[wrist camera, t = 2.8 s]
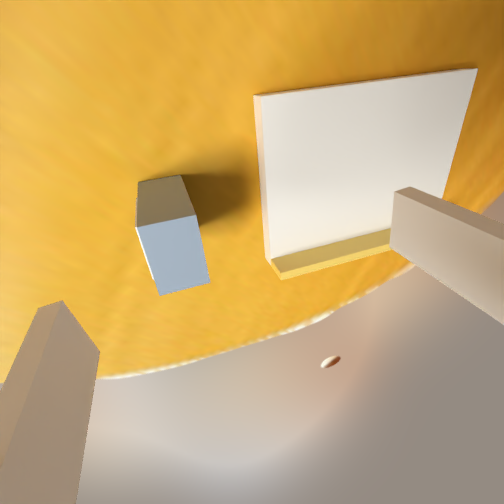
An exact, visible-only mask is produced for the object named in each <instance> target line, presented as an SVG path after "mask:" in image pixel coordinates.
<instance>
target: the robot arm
mask: <svg viewBox="0 0 504 504" xmlns="http://www.w3.org/2000/svg"><path fill="white" fill-rule="evenodd" d="M389 247H390V248H391V249H393V250H394V251H396V252H397V253H399V254H400V255H402V256H403V257H405V258H406V259H408V260H409V261H411V262H412V263H413V264H415V265H416V266H418V267H419V268H421V269H422V270H424V271H425V272H427V273H428V274H430V275H431V276H433V277H434V278H436V279H437V280H438V281H440V282H442V283H443V284H445V285H446V286H448V287H449V288H450V289H452V290H453V291H455V292H456V293H458V294H459V295H461V296H462V297H463V298H465V299H466V300H468V301H469V302H471V303H472V304H474V305H475V306H477V307H478V308H480V309H481V310H483V311H484V312H485V313H487V314H488V315H490V316H491V317H493V318H494V319H496V320H497V321H499V322H500V323H502V324H503V325H504V224H503V223H500V222H498V221H495V220H493V219H490V218H488V217H485V216H483V215H480V214H478V213H475V212H473V211H470V210H468V209H465V208H463V207H460V206H458V205H455V204H453V203H450V202H448V201H445V200H443V199H440V198H438V197H435V196H433V195H430V194H428V193H425V192H423V191H420V190H418V189H415V188H413V187H410V186H409V187H406V188H403V189H400V190H397V191H394V200H393V211H392V222H391V233H390V244H389ZM99 354H100V351H99V350H98V348H97V347H96V346H95V344H94V343H93V342H92V340H91V339H90V338H89V336H88V335H87V333H86V332H85V331H84V329H83V328H82V327H81V325H80V324H79V323H78V321H77V320H76V318H75V317H74V316H73V314H72V313H71V312H70V310H69V309H68V308H67V306H66V305H65V303H64V302H63V301H59V302H56V303H53V304H50V305H47V306H43V307H40V308H38V310H37V312H36V315H35V317H34V319H33V321H32V323H31V326H30V328H29V330H28V332H27V334H26V336H25V339H24V341H23V343H22V345H21V347H20V350H19V352H18V354H17V356H16V358H15V360H14V363H13V365H12V367H11V369H10V371H9V374H8V376H7V378H6V380H5V382H4V384H3V387H2V389H1V391H0V504H76V499H77V493H78V486H79V480H80V474H81V468H82V461H83V455H84V448H85V443H86V436H87V430H88V423H89V417H90V411H91V405H92V398H93V392H94V386H95V380H96V373H97V367H98V361H99Z"/></svg>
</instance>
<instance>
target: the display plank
mask: <svg viewBox="0 0 504 504" xmlns="http://www.w3.org/2000/svg"><path fill="white" fill-rule="evenodd" d="M477 71H478V68H473V69H455V70H447V71H439V72H431V73H424V74H416V75H408V76H400V77H392V78H384V79H377V80H369V81H361V82H353V83H345V84H337V85H329V86H322V87H314V88H306V89H298V90H290V91H282V92H275V93H267V94H259V95H253V96H254V110H255V123H256V137H257V150H258V164H259V177H260V191H261V204H262V218H263V232H264V245H265V258H266V259H267V261H268V262H269V264H270V265H271V266H272V268H273V269H274V271H275V272H276V274H277V275H278V277H279V278H280V280H284V279H288V278H291V277H295V276H299V275H302V274H306V273H309V272H313V271H317V270H320V269H324V268H327V267H331V266H335V265H338V264H342V263H346V262H349V261H353V260H356V259H360V258H364V257H367V256H371V255H374V254H378V253H382V252H385V251H389V250H392V249H391V248H390V247H389V244H390V233H391V222H392V211H393V200H394V191H397V190H400V189H403V188H406V187H409V186H410V187H413V188H415V189H418V190H420V191H423V192H425V193H428V194H430V195H433V196H435V197H438V198H440V199H442V196H443V192H444V189H445V185H446V182H447V178H448V174H449V171H450V167H451V164H452V160H453V157H454V153H455V149H456V146H457V142H458V139H459V135H460V132H461V128H462V124H463V121H464V117H465V114H466V110H467V107H468V103H469V99H470V96H471V92H472V89H473V85H474V82H475V78H476V74H477Z"/></svg>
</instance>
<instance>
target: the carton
mask: <svg viewBox="0 0 504 504" xmlns="http://www.w3.org/2000/svg"><path fill="white" fill-rule="evenodd" d="M135 228H136V231H137V234H138V237H139V240H140V243H141V246H142V249H143V252H144V255H145V257H146V260H147V263H148V266H149V269H150V272H151V275H152V278H153V280H155V283H156V286H157V289H158V292H159V295H160V296H161V295H165V294H168V293H172V292H176V291H180V290H184V289H187V288H191V287H195V286H199V285H202V284H206V283H210V279H209V274H208V269H207V264H206V260H205V255H204V250H203V245H202V240H201V236H200V231H199V226H198V221H197V216H196V213H195V211H194V208H193V205H192V203H191V200H190V198H189V195H188V193H187V190H186V188H185V185H184V183H183V180H182V177H181V175H176V176H170V177H165V178H159V179H154V180H148V181H142V182H138V198H136V216H135Z"/></svg>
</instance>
